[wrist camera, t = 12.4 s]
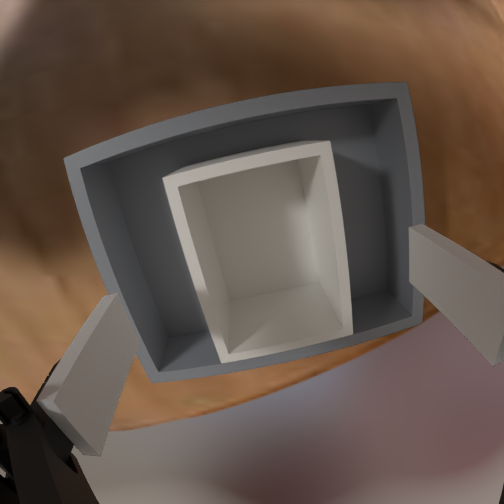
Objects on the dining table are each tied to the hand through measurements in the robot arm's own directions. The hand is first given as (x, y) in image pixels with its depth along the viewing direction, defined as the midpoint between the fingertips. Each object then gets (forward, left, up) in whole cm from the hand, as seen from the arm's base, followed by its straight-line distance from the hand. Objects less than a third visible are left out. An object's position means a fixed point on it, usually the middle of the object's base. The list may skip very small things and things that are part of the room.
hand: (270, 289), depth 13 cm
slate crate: (0, 0, -11) cm, 11 cm away
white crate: (0, 0, -10) cm, 10 cm away
